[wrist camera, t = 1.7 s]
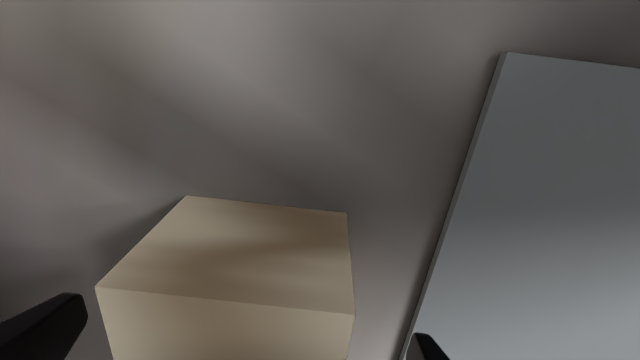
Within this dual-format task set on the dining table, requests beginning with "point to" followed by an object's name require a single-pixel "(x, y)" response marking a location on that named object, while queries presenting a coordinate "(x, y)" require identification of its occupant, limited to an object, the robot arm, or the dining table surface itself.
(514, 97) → the grey mat
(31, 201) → the dining table surface
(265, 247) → the birch block
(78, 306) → the robot arm
